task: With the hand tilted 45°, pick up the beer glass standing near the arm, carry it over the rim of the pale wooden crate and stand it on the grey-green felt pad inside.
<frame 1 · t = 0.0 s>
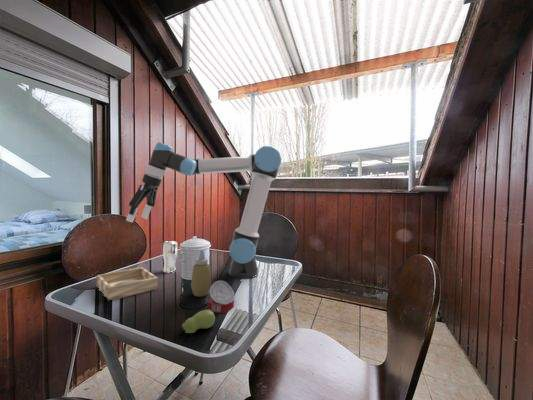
hand: (136, 219, 113), 28 cm above the table, tool tilted 20°, fingers open, 13 cm apart
crate: (127, 287, 105), on the table
squeeze bottle: (200, 294, 102), on the table
pear: (198, 329, 76), on the table
canned food: (220, 307, 92), on the table
beer glass: (169, 271, 128), on the table
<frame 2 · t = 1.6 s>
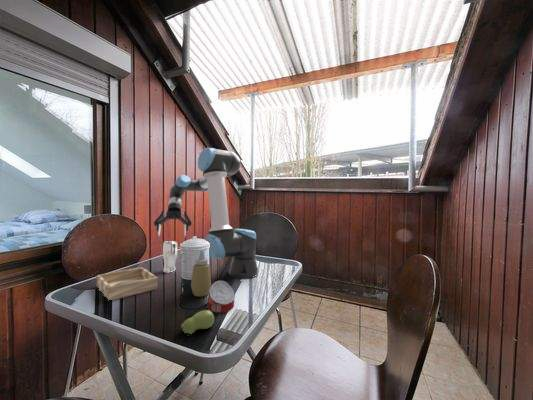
hand: (172, 235, 137), 17 cm above the table, tool tilted 45°, fingers open, 13 cm apart
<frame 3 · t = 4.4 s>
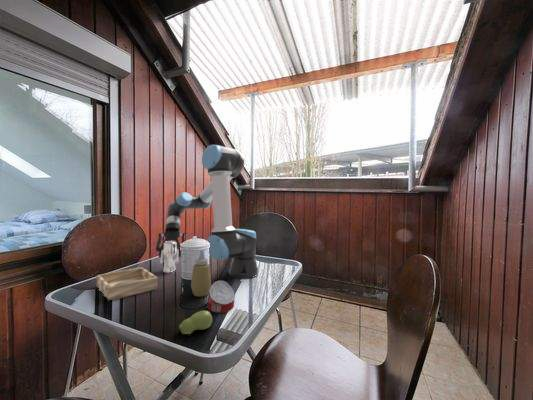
hand: (169, 262, 125), 5 cm above the table, tool tilted 45°, fingers closed on beer glass, 7 cm apart
beer glass: (169, 271, 128), on the table, touching gripper
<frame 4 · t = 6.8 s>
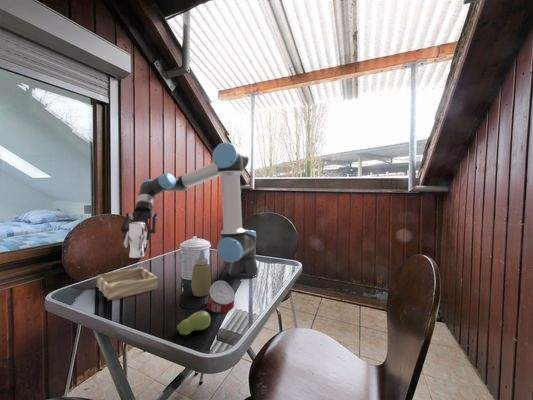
hand: (134, 245, 107), 17 cm above the table, tool tilted 45°, fingers closed on beer glass, 7 cm apart
beer glass: (136, 256, 111), point 12 cm above the table, touching gripper
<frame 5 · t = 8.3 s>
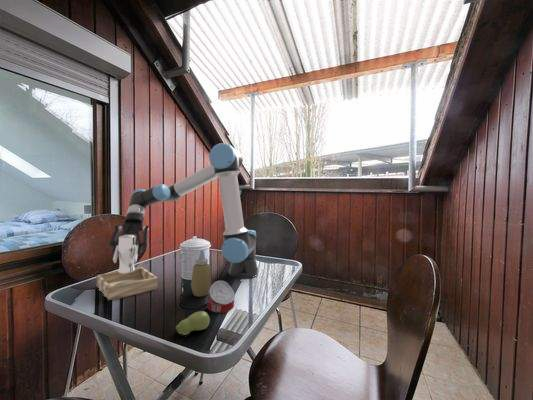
hand: (124, 260, 101), 12 cm above the table, tool tilted 45°, fingers closed on beer glass, 7 cm apart
beer glass: (126, 271, 105), point 7 cm above the table, touching gripper
when the fingers open (7 cm above the table, at t = 9.5 s): beer glass stays where it is, resting on crate.
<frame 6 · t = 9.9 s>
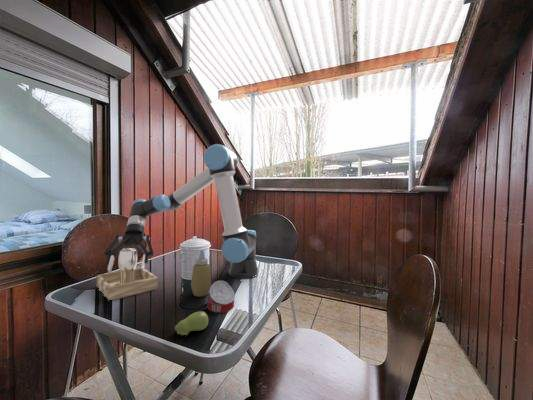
hand: (125, 270, 102), 8 cm above the table, tool tilted 45°, fingers open, 11 cm apart
beer glass: (127, 285, 105), point 1 cm above the table, touching crate
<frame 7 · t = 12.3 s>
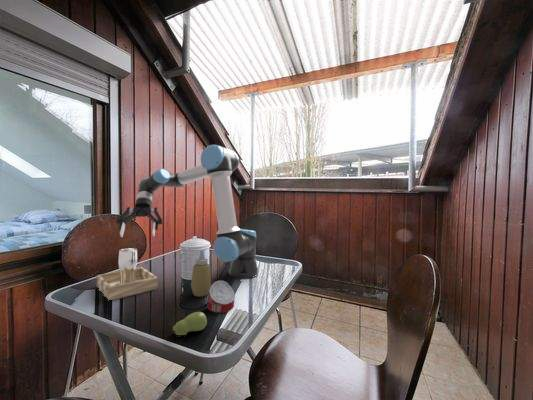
hand: (137, 235, 116), 20 cm above the table, tool tilted 45°, fingers open, 13 cm apart
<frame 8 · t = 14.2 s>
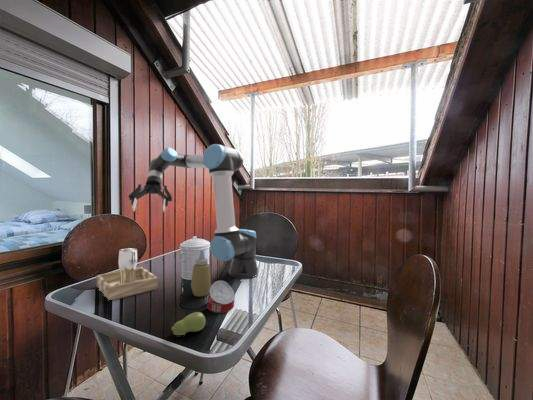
hand: (148, 210, 122), 32 cm above the table, tool tilted 45°, fingers open, 13 cm apart
at the end: beer glass inside the target area on the crate (0.1 cm from its centre), point 1.0 cm above the crate's base; beer glass tilted 0°; the gripper is holding nothing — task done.
